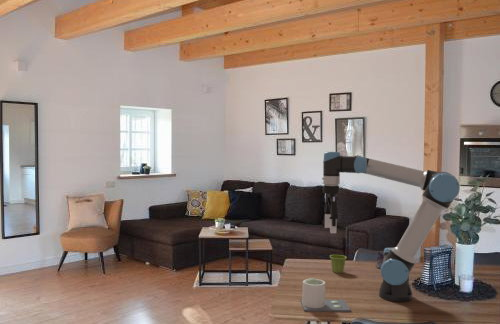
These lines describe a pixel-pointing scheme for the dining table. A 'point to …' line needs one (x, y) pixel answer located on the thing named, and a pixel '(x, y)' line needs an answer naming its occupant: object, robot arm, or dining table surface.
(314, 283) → the sage ball
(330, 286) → the dining table surface
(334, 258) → the plant pot
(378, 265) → the geode
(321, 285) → the tube stand
